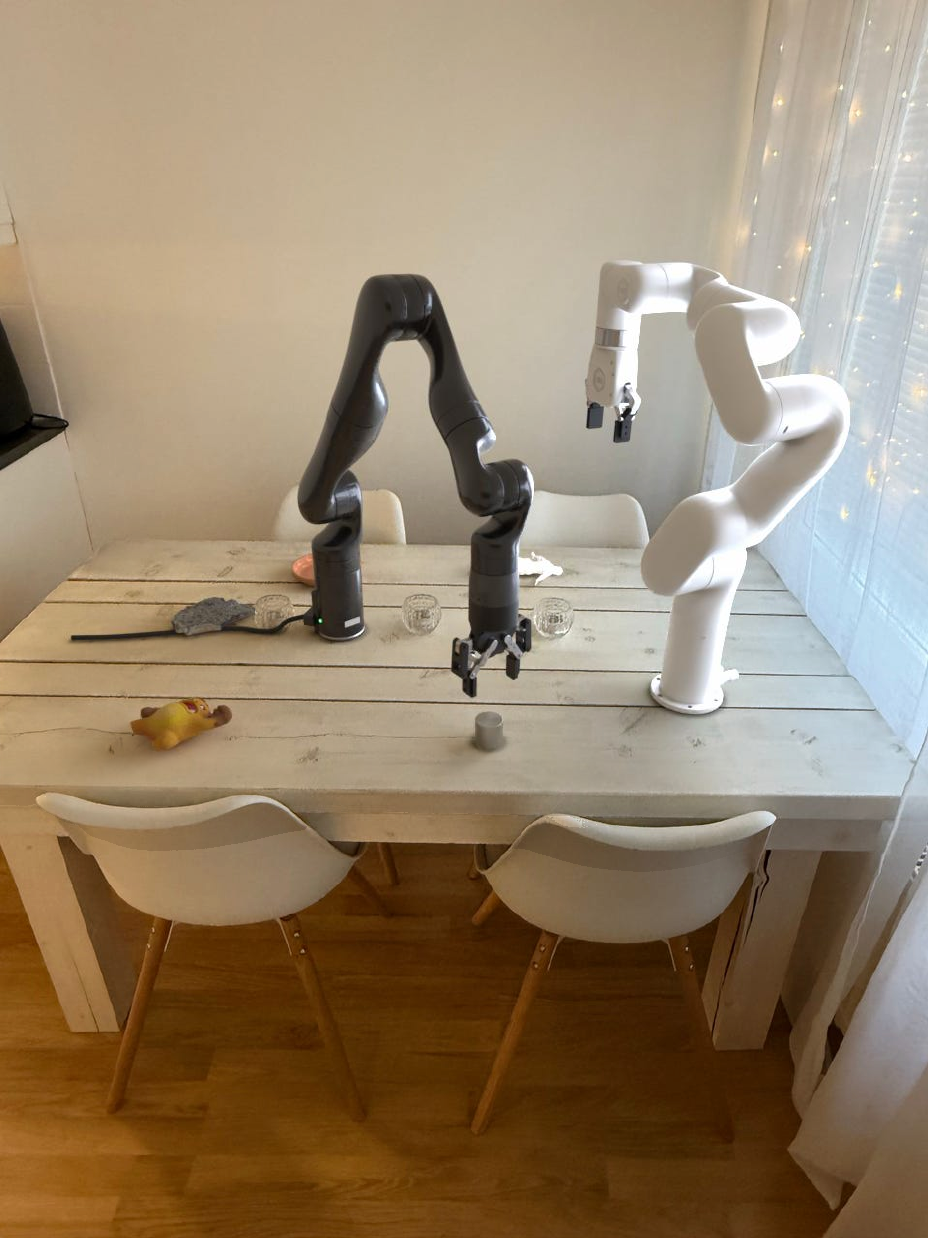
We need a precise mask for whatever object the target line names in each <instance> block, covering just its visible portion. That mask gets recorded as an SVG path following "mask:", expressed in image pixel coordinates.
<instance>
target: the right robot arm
mask: <svg viewBox="0 0 928 1238" xmlns="http://www.w3.org/2000/svg"><path fill="white" fill-rule="evenodd" d="M597 294H598V295H597V297H598V298H597V307H596V317H595V318H596V320H595V329H594V343H593V345H592V347H591V352H590V356H589V362H588V368H587V375H586V378H584V384H585V396H586V407H587V409H586V410H587V411H586V421H585V423H586V424H585V428H586V429H587V430H594V429H601V428H602V427H603V424H604V423H603V422H604V412H605V408H607V409H612V408H614V412H615V415H616V419H615V420H614V427H613V437H612V442H613V443H615V444H620V443H628V442H630V441H631V434H632V425H633V421H634V420H635V416H636V415H637V413H638V409H639V407H640V405H641V402H642V401H641V397H640V396H639V394H638V393H637V390H636V389H637V381H638V380H637V378H638V350H637V349H638V346H639V339H640V338H639V336H640V327H641V319H642V315H646V314H656V313H658V314H659V313H669V312H670V313H673V312H675V313H676V312H681V313H686V314H685V324H686V329H687V331H688V333H689V334H690V336H691V337H692V338H694V350H695V354H696V359H697V362H698V364H699V368H700V371H701V374H702V376H703V379H704V382H705V384H706V387H707V390H708V392H709V394H710V397H711V401H712V403H713V406H714V409H715V412H716V414H717V417H718V419H719V421H720V424H721V426H722V429H723V430H724V432H725V433H726V434H727V436H728V437H729V438H730V439H731V440H732V441H734V442H735V443H738V444H739V445H742V446H748V447H749V446H750V447H752V446H753V447H754V446H762V445H767V444H773V445H771V446H769V448H767V449H766V450H764V451H763V452H762V453H760V454H759V455H758V456H757V457H756V458H755V459H754V460H753V461H752V462H751V463H750V465H748V467H747V469H746V470H745V471H744V473H742V475H741V476H740V477H739V478H738V479H737V480H736V481H735V482H734V483H732V484H731V485H728V486H725V487H723V488H718V489H713V490H710V491H704V492H700V493H697V494H693V495H691V496H689V497H687V498H685V499H683V500H682V501H681V502H679V503H677V505H676V506H675V507H674V508H673V509H672V510H671V512H670V513H669V514H668V515H667V517H666V518H665V519H664V521H663V522H662V524H661V525H660V526H659V528H658V529H657V530H656V532H655V533H654V534H653V535H652V537H650V539H649V541H648V543H647V544H646V545H645V548H644V550H643V552H642V555H641V558H640V563H639V564H640V565H639V568H640V569H639V571H640V577H641V580H642V583H643V584H644V586H645V588H646V589H648V590H649V591H650V592H651V593H653V594H655V595H657V596H659V597H660V596H661V597H673V599H672V602H671V607H670V612H669V619H668V625H667V633H666V639H665V645H664V646H665V647H664V652H663V660H662V666H661V673H660V674H657V675H656V676H655V677H654V678H653V679H652V681H651V683H650V687H649V692H650V695H651V697H652V698H653V699H654V700H655V701H656V702H657V703H658V704H660V705H661V706H662V707H664V708H666V709H668V710H672V711H674V712H678V713H681V714H686V715H702V714H708V713H711V712H713V711H715V710H717V709H719V707H720V706H721V705H722V703H723V699H724V691H723V689H722V687H721V686H724V684H725V683H730V682H734V681H738V680H739V676H740V675H739V672H738V671H737V670H736V669H731V670H727V671H725V672H724V667H723V666H722V665H721V661H722V655H723V650H724V649H723V648H724V643H725V640H726V639H725V638H726V633H727V629H728V628H727V627H728V625H729V618H730V614H731V609H732V605H733V600H734V596H735V594H736V591H737V589H738V586H739V584H740V581H741V578H742V576H743V574H744V571H745V568H746V562H747V550H746V548H750V547H752V546H755V545H757V544H758V543H760V542H762V541H763V540H764V539H765V538H766V537H767V535H768V534H770V532H772V530H773V529H774V528H775V527H776V526H777V524H778V523H780V521H781V520H782V519H783V518H784V517H785V516H786V515H787V514H788V513H789V512H790V511H791V510H792V509H793V507H794V506H795V505H796V504H797V503H798V502H799V500H800V499H801V498H802V497H803V496H804V495H805V494H806V493H807V492H808V491H809V490H810V489H811V488H812V487H813V486H814V485H815V484H816V483H817V482H818V481H819V480H820V479H821V478H822V477H823V476H824V475H825V474H826V472H827V471H828V470H829V469H830V468H831V467H832V465H833V464H834V463H835V462H836V460H837V458H838V457H839V455H840V453H841V452H842V449H843V447H844V445H845V442H846V440H847V437H848V434H849V428H850V420H851V417H850V416H851V415H850V413H851V411H850V404H849V401H848V400H849V399H848V396H847V394H846V392H845V391H844V389H843V387H842V386H841V385H840V384H839V383H837V381H835V380H833V379H832V378H829V377H826V376H824V375H823V376H822V375H817V374H795V375H787V376H786V375H785V376H779V377H771V378H763V379H762V376H761V374H760V371H759V368H758V366H764V365H769V364H773V363H776V362H778V361H780V360H782V359H783V358H785V357H786V356H787V355H788V354H790V353H791V352H792V351H793V349H795V347H796V345H797V343H798V341H799V338H800V335H801V324H800V320H799V317H798V316H797V314H796V313H795V311H793V309H792V308H791V307H789V306H787V305H786V304H784V303H782V302H780V301H778V300H775V299H773V298H769V297H766V296H763V295H761V294H758V293H755V292H752V291H749V290H746V289H743V288H740V287H737V286H734V285H731V284H729V283H728V282H727V280H726V278H724V276H723V275H722V274H721V273H720V272H718V271H715V270H713V269H710V268H708V267H707V268H706V267H704V266H701V265H698V264H694V263H691V262H690V263H689V262H682V261H681V262H679V261H676V262H674V261H673V262H671V261H670V262H651V263H642V262H641V261H637V260H631V259H626V260H625V259H614V260H613V259H612V260H608V261H605V262H604V263H603V264H602V265H601V268H600V272H599V283H598V293H597ZM622 409H624V411H623V410H622Z"/></svg>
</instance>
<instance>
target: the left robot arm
mask: <svg viewBox="0 0 928 1238" xmlns="http://www.w3.org/2000/svg"><path fill="white" fill-rule="evenodd" d="M407 341H408V342H409V341H417V342H418V344H419V345H420V346H421V348H422V350H423V351H424V353H425V355H426V357H427V359H428V363H429V380H428V389H427V390H428V392H427V402H428V408H429V413H430V416H431V419H432V421H433V424H434V425H435V427H436V429H437V431H438V433H439V435H440V437H441V439H442V440H443V443H444V444H445V446H446V449H447V450H448V453H449V457H450V461H451V466H452V470H453V474H454V480H455V485H456V491H457V494H458V495H457V496H458V498H459V501H460V503H461V505H462V506H463V507H464V509H465V510H466V511H468V512H469V513H470V514H471V515H473V516H475V517H477V518H486V517H490V518H489V519H488V520H486V521H485V522H484V523H482V524H480V525H479V526H478V527H476V528H475V529H474V530H473V531H472V533H471V537H470V569H469V574H468V599H467V600H468V603H467V605H468V606H467V607H468V608H467V609H468V612H467V619H468V620H467V621H468V623H469V626H470V632H469V634H468V637H466V638H462V639H461V638H460V637H457V636H456V637H454V638H453V640H452V643H451V644H452V645H451V660H450V661H451V664H450V672H451V673H453V674H454V675H455V676H457V677H458V678H459V679H461V682H462V683H461V690H462V692H463V693H464V694H465V695H466V696H468V697H469V698H471V699H474V698H476V697H477V696H478V694H477V691H478V677H477V675H478V674H479V672H480V669H481V668H482V667H485V665H486V664H487V662H488V660H489V659H491V658H494V657H495V656H496V655H501V654H503V653H505V651H506V653H508V654H506V656H505V675H506V677H508V678H509V679H511V680H512V681H516V680H517V679H518V678H519V675H520V671H521V659H522V658H523V655H524V653H530V651H531V650H532V619H530V618H529V617H527V616H525V615H523V614H521V613H519V609H520V608H519V606H520V585H521V583H520V581H521V580H520V575H519V567H518V566H519V557H520V543H521V538H522V535H523V532H524V530H525V527H526V523H527V521H528V517H529V513H530V510H531V508H532V505H533V504H532V503H533V500H534V492H535V485H534V478H533V474H532V472H531V470H530V469H529V466H528V465H527V464H526V463H525V462H523V461H522V460H520V459H517V458H506V459H501V460H497V461H492V462H488V463H484V462H483V461H482V458H481V457H482V456H483V455H485V454H486V453H488V452H489V451H490V450H491V449H492V448H493V447H494V445H495V444H496V439H497V437H496V432H495V429H494V427H493V425H492V423H491V421H490V419H489V417H488V416H487V414H486V411H485V410H484V408H483V406H482V404H481V402H480V401H479V399H478V397H477V395H476V393H475V390H474V389H473V387H472V385H471V382H470V380H469V378H468V376H467V373H466V370H465V368H464V365H463V362H462V360H461V356H460V353H459V350H458V347H457V344H456V341H455V338H454V335H453V332H452V329H451V326H450V323H449V320H448V318H447V314H446V312H445V309H444V305H443V303H442V300H441V298H440V295H439V294H438V292H437V289H436V288H435V286H434V284H433V283H432V281H430V279H428V277H426V276H425V275H422V274H417V273H384V274H382V273H381V274H375V275H372V276H369V278H367V279H366V280H365V281H364V283H363V285H362V287H361V288H360V291H359V293H358V297H357V299H356V304H355V308H354V313H353V318H352V324H351V327H350V334H349V339H348V343H347V348H346V351H345V356H344V358H343V359H344V360H343V363H342V367H341V370H340V373H339V377H338V380H337V383H336V385H335V389H334V391H333V394H332V396H331V400H330V403H329V406H328V409H327V412H326V416H325V420H324V423H323V427H322V429H321V432H320V435H319V438H318V440H317V444H316V446H315V449H314V451H313V454H312V455H311V458H310V460H309V462H308V464H307V465H306V468H305V470H304V472H303V474H302V477H301V479H300V482H299V484H298V488H297V497H296V498H297V507H298V511H299V513H300V515H301V517H302V519H304V521H306V522H307V523H308V524H310V525H316V526H320V525H326V526H325V527H324V528H323V529H322V530H321V531H319V532H318V533H317V534H315V536H314V537H313V538H312V540H311V544H310V545H311V553H312V559H313V570H314V582H315V587H314V588H313V589H312V590H311V591H310V597H311V606H310V608H308V610H307V611H305V612H304V613H302V614H297V615H293V616H291V617H288V618H285V619H284V620H283V621H281V622H280V623H279V624H278V625H277V626H275V627H271V628H258V627H251V626H245V625H227V626H224V627H223V628H222V629H221V630H218V631H207V632H206V633H215V632H245V633H246V632H247V633H253V634H262V635H263V634H264V635H267V634H269V635H270V634H274V633H278V632H280V631H282V630H283V628H284V627H286V625H288V624H291V623H294V622H297V621H302V622H303V626H306V627H311V628H313V629H314V634H315V635H318V636H320V637H321V638H323V639H325V640H328V641H331V642H332V641H333V642H345V641H346V642H347V641H351V640H355V639H358V638H359V637H360V636H362V635H363V634H364V633H365V631H366V623H365V613H364V612H365V610H364V594H363V593H364V592H363V575H362V574H363V573H362V565H361V564H362V560H361V543H362V542H363V508H364V507H363V493H362V487H361V485H360V482H359V479H358V477H357V475H356V474H355V473H354V472H353V471H352V470H350V468H351V467H353V465H354V464H356V463H357V462H358V461H359V460H360V459H361V458H362V457H363V456H364V455H365V454H366V453H367V452H368V451H369V450H370V448H371V447H372V446H373V445H374V444H375V443H376V440H377V439H378V438H379V435H380V433H381V430H382V428H383V425H384V423H385V420H386V419H387V414H388V412H389V397H388V392H387V390H386V386H385V384H384V381H383V379H382V376H381V373H380V370H379V369H380V368H379V367H380V363H381V360H382V356H383V353H384V351H385V349H386V347H387V346H388V345H389V344H390V343H397V342H407ZM174 635H184V634H183V633H177V632H175V629H165V630H155V631H142V632H130V633H129V632H127V633H112V634H111V633H110V634H72V635H70V640H71V641H102V640H103V641H104V640H105V641H107V640H126V639H138V638H140V639H141V638H151V637H162V636H174ZM514 636H515V640H514V639H513V637H514ZM476 653H478V655H480V656H479V657H477V656H476ZM472 664H473V665H472ZM471 666H472V667H471Z"/></svg>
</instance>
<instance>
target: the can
mask: <svg viewBox="0 0 928 1238" xmlns="http://www.w3.org/2000/svg"><path fill="white" fill-rule="evenodd" d="M503 731H504V718H503V716H502V715H501V714H499V713H498V712H496V711H482V712H479V713H478V714H476V716H475V718H474V744H475V745H476V746H477V747H478V748H479V749H482V750H486V751H492V750H496V749H498V748H500V747H501V746H502V744H503V733H504V732H503Z"/></svg>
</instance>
